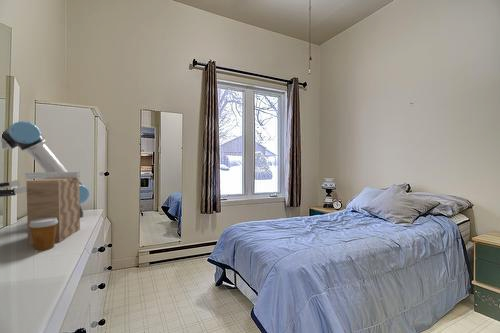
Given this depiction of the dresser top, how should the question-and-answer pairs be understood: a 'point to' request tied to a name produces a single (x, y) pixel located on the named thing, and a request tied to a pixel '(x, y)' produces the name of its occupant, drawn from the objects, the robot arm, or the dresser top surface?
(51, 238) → the disposable coffee cup
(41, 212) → the walnut shelf
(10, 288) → the dresser top surface
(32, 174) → the steel bar
